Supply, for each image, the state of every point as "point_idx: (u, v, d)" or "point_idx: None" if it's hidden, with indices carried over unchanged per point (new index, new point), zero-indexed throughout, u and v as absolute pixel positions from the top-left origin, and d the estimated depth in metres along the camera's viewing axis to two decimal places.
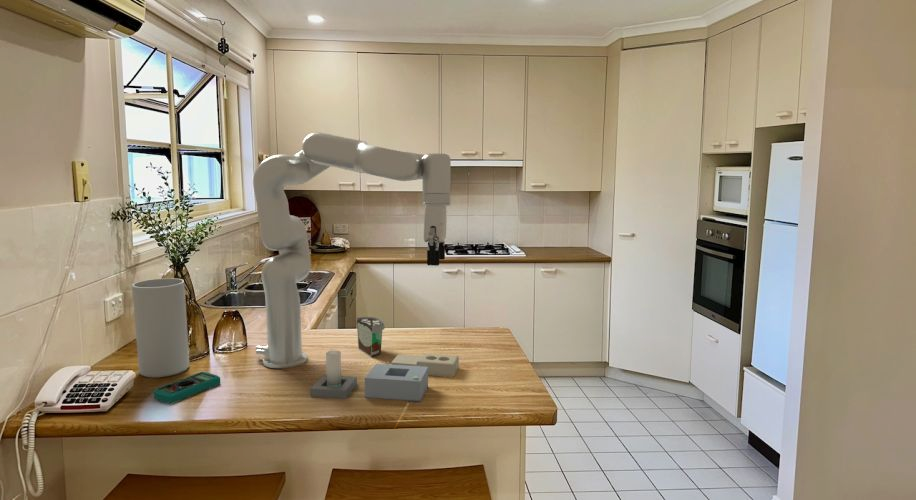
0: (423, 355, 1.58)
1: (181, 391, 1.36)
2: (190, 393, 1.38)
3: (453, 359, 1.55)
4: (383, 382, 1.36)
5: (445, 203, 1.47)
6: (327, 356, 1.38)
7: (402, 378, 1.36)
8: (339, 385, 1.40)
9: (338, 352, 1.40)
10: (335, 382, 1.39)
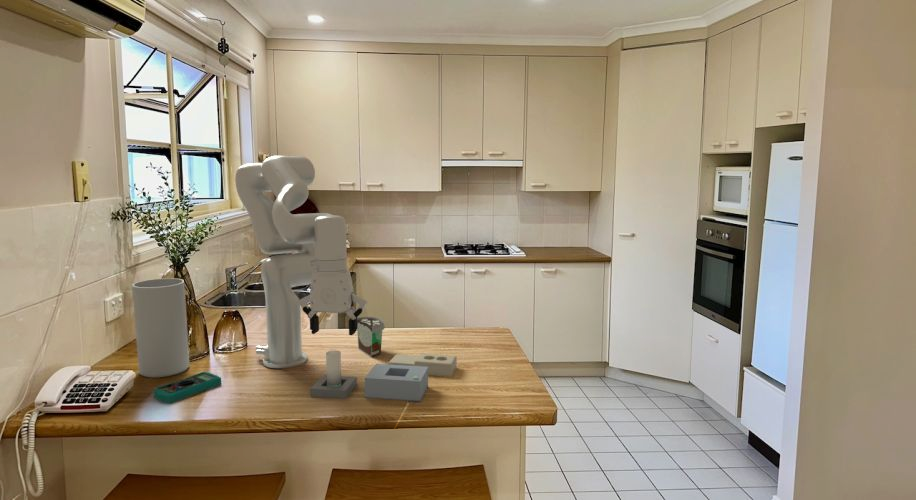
0: (421, 355, 1.58)
1: (180, 391, 1.36)
2: (189, 393, 1.38)
3: (451, 359, 1.55)
4: (383, 382, 1.36)
5: None
6: (327, 356, 1.38)
7: (402, 378, 1.36)
8: (339, 385, 1.40)
9: (338, 352, 1.40)
10: (335, 382, 1.39)
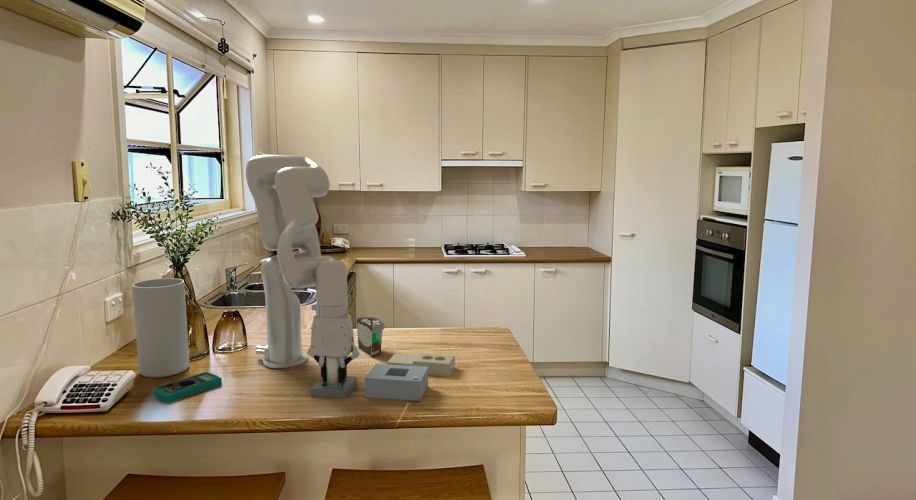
0: (419, 355, 1.58)
1: (179, 391, 1.36)
2: (188, 393, 1.38)
3: (449, 359, 1.55)
4: (383, 382, 1.36)
5: None
6: None
7: (402, 378, 1.36)
8: (339, 385, 1.40)
9: None
10: (335, 382, 1.39)
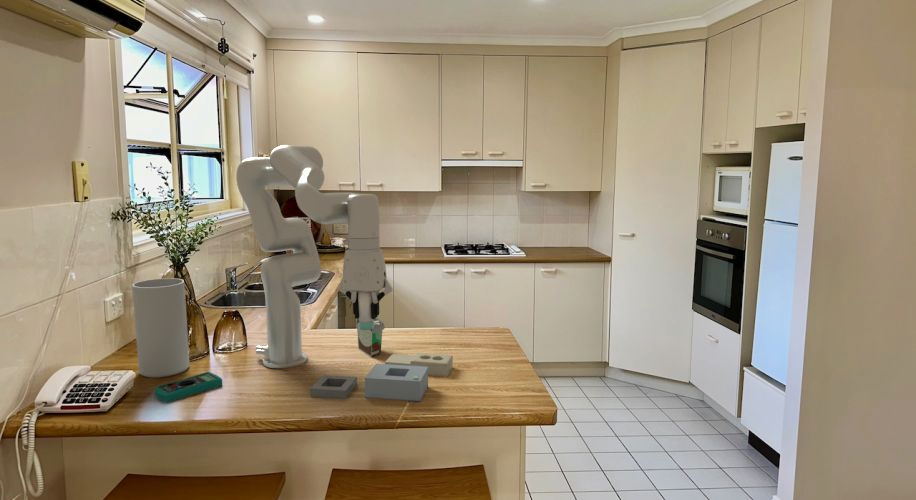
0: (417, 354, 1.58)
1: (177, 391, 1.36)
2: (187, 393, 1.38)
3: (447, 359, 1.55)
4: (383, 382, 1.36)
5: None
6: (359, 292, 1.35)
7: (402, 378, 1.36)
8: (371, 322, 1.37)
9: None
10: (367, 318, 1.36)
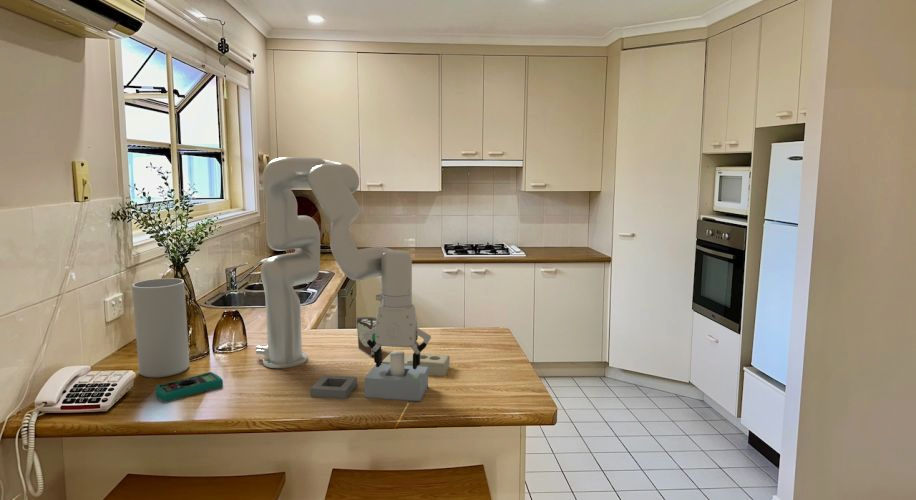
0: None
1: (176, 391, 1.36)
2: (186, 393, 1.37)
3: (443, 358, 1.55)
4: (383, 382, 1.36)
5: None
6: (391, 356, 1.38)
7: (402, 378, 1.36)
8: None
9: (402, 352, 1.40)
10: None
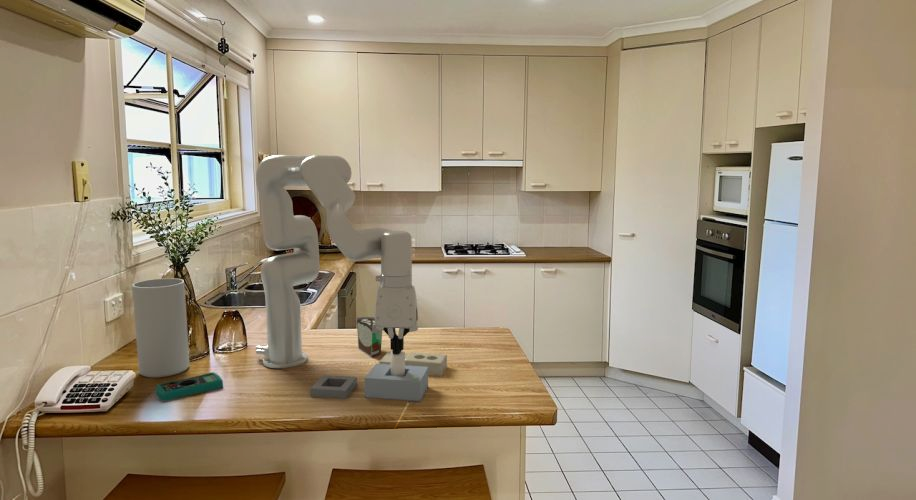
0: (411, 354, 1.59)
1: (175, 390, 1.36)
2: (185, 393, 1.37)
3: (441, 358, 1.55)
4: (383, 382, 1.36)
5: None
6: (392, 356, 1.38)
7: (402, 378, 1.36)
8: None
9: (402, 352, 1.40)
10: None
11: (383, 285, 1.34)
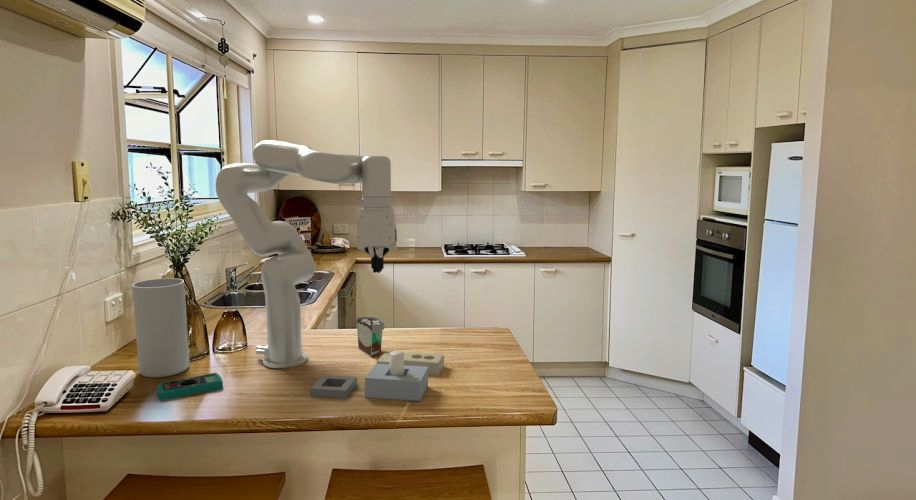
0: (409, 354, 1.59)
1: (173, 390, 1.36)
2: (184, 393, 1.37)
3: (438, 358, 1.56)
4: (383, 382, 1.36)
5: None
6: (391, 357, 1.38)
7: (402, 378, 1.36)
8: None
9: (401, 352, 1.39)
10: None
11: (364, 206, 1.43)
